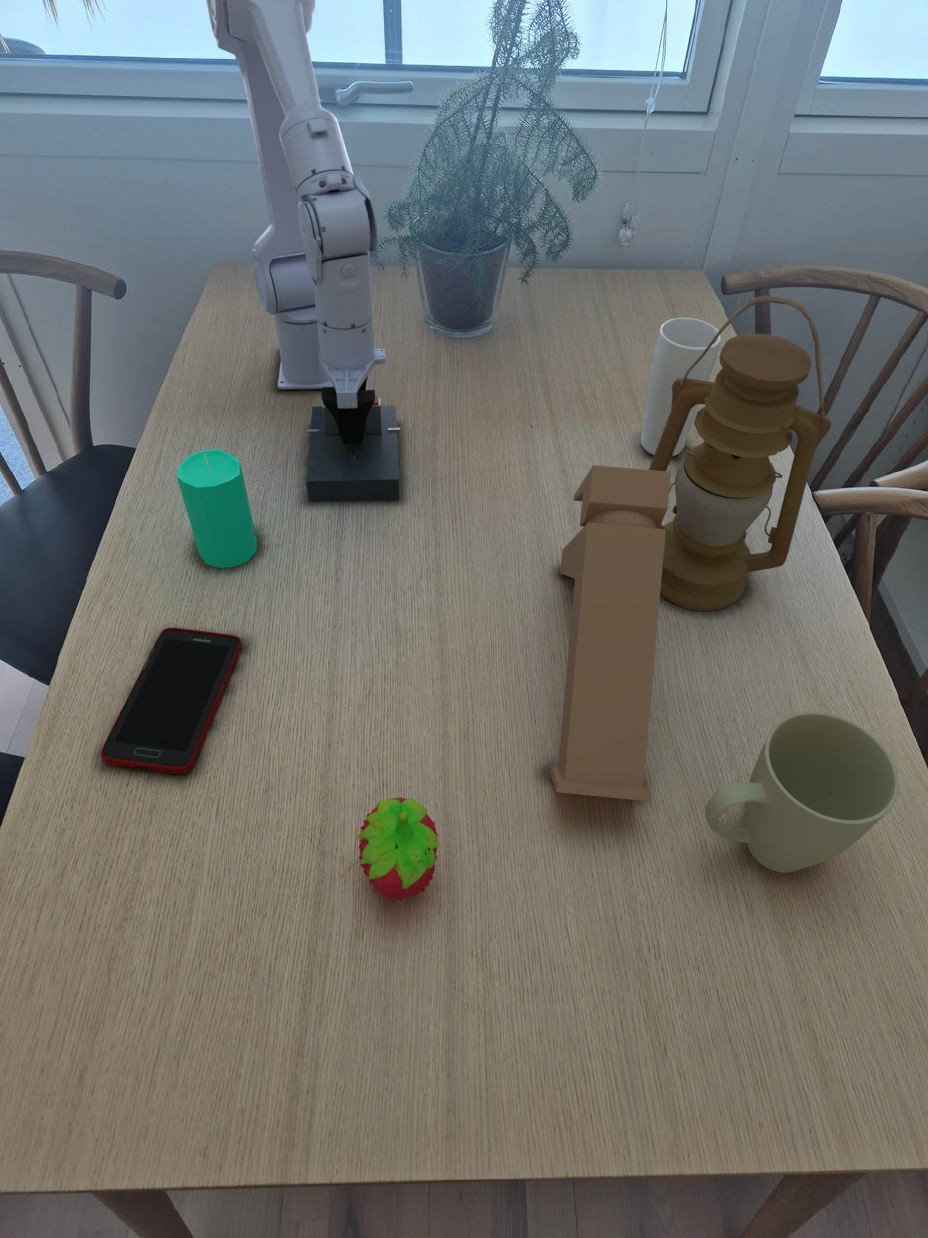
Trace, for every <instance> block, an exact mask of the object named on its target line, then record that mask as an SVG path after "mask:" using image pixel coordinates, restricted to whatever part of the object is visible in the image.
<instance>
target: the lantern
mask: <svg viewBox="0 0 928 1238" xmlns="http://www.w3.org/2000/svg"><path fill="white" fill-rule="evenodd" d="M760 303H770V304H777V305H786V306H790V307H792V308H795V309H797V310H798V311H800V313H801V314H802V315H803V317H805V319H806V320H807V321H808V325H809V328H810V332H811V335H812V340H813V344H814V359H815V366H816V367H815V368H816V376H817V385H818V398H819V399H818V400H819V406H820V411H821V413H818V412H815V411H812V410H809V409H807V408H804V407H801V406H799V405H796V404H797V401H798V397H799V394H800V389H799V385H800V384H802V383H803V382H804V381H805V380H806V379H807V378H808V376H809V374H810V370H811V368H812V359H811V357H810V355H809V354H808V353H807V351H806V350H805V349H803V348H802V347H801V346H800V345H798V344H796V343H794V342H793V341H790V340H789V339H786V338H783V337H779V336H776V335H773V334H772V335H771V334H766V333H765V334H764V333H744V334H740V335H736V336H733V337H731V338H730V339H728V340H726V341H725V343H724V345H723V346H722V347H721V349H720V354H719V356H718V357H719V364H720V366H721V369H720V370H719V371H718V373H717V374H716V375H715V379H714V382H713V381H709V382H708V381H701V380H695V379H688V378H687V376H688V374H689V373H690V371H691V370H692V369H693V368H694V367H695V365H696V364H697V363H698V362H699V361H700V360H701V359H702V358H703V356H704V355H705V354H706V352H707V351H708V350H709V348H710V347H711V346H712V344H713V343H714V342H715V340H716V339H717V338H718V336H719V335H720V334H722V333H723V332H724V331H725V330H726V329H727V327H728V326H729V325H730V324H731V323H732V322H733V321H734V320H735V319H736V318H737V317H739V316H740V315H741V314H742V313H744V312H745V311H747V310H748V309H749V308H751V307H753V306H755V305H758V304H760ZM816 328H817V327H816V325H815V321H814V318H813V316H812V315H811V313H810V312H809V310H808V309H807V306H805V305H803V304H802V303H800V302H798V301H796V300H795V299H788V298H784V297H779V296H774V295H759V296H757V297H754V298H753V299H750V300H748V301H747V302H746V303H744V305H742V306H741V307H740V308H738V309H737V310H736V311H735V312H734V313H732V314H731V316H730V317H729V318H728V319H727V321H726V322H724V324H723V325H722V326H721V327H720V329H719V330H718V331H719V332H718V333H717V334H716V336H715V337H714V338H713V340H712V341H711V343H710V344H709V345H708V347H707V348H706V349H705V351H704V352H703V354H702V355H701V356H700V357H699V358H698V359H697V360H696V361H695V362H694V363H693V365H692V366H691V367H690V368H689V369H688V370H687V372H686V373H685V376H684V377H682V378H678V379H676V380H675V381H674V383H673V385H672V407H671V412H670V415H669V417H668V420H667V423H666V425H665V428H664V431H663V433H662V436H661V439H660V441H659V444H658V447H657V449H656V452H655V454H654V455H653V457H652V460H651V462H650V465H649V468H648V470H655V471H667V470H668V467H669V465H670V462H671V460H672V458H673V456H672V455H673V452H674V450H675V447H676V445H677V442H678V440H679V437H680V435H681V432H682V430H683V427H684V425H685V422H686V420H687V417H688V415H689V412H690V410H691V408H692V407H694V406H695V405H697V404H700V405H704V406H703V407H702V408H700V409H698V410H697V413H696V415H695V418H694V420H693V425H694V427H695V430H696V431H697V434H698V436H699V437H700V438H701V439H702V440H703V441H702V442H701V443H700V444H698V445H696V446H693V447H692V448H689V447H684V448H682V449H681V450H682V451H681V452H683V453H684V454H686V455H685V456H684V458H683V459H682V460H681V462H680V464H679V466H678V467H677V470H676V473H675V478H674V481H673V482H672V483H670V489H669V494H670V493H671V490H672V487H674V491H675V505H674V506H673V507H672V513H673V514H674V517H673V520H672V521H670V522H667V523H666V524H664V525H663V524H661V525H660V527H659V528H658V529H666V534H665V545H664V556H663V567H662V579H661V590H660V598H663V599H665V600H667V601H669V602H671V603H673V604H675V605H676V606H678V607H680V608H684V609H687V610H693V611H699V612H703V611H705V612H706V611H707V612H708V611H709V612H710V611H711V612H712V611H717V610H722V609H724V608H727V607H729V606H731V605H733V604H734V603H735V602H737V601H738V600H739V599H740V598H741V596H742V595H743V593H744V591H745V588H746V586H747V581H748V573H753V572H759V571H764V570H770V569H775V568H779V567H782V566H783V565H784V564H785V563H786V561H787V558H788V555H789V552H790V548H791V545H792V540H793V537H794V533H795V528H796V525H797V521H798V518H799V514H800V509H801V506H802V501H803V498H804V495H805V490H806V486H807V483H808V479H809V475H810V471H811V467H812V464H813V460H814V457H815V453H816V450H817V449H818V447H819V445H820V443H821V442H822V441H823V439H824V438H825V437H826V435H827V434H828V433H829V432H830V430H831V427H832V420H831V419H830V418H828V417H827V416H826V411H825V407H824V406H825V405H824V379H823V367H822V365H823V364H822V356H821V348H820V340H819V335H818V331H817V329H816ZM793 432H794V433H795V434H796V437H797V444H796V448H795V452H794V455H793V460H792V464H791V467H790V471H789V476H788V479H787V483H786V488H785V492H784V495H783V499H782V504H781V508H780V511H779V515H778V519H777V524H776V527H775V526H771V527H770V530H769V532H768V530H767V529H768V528H767V526H768V524H769V522H770V518H771V517H772V516H771V515H772V511H771V508H770V507H769V506H768V505H769V502H770V500H771V498H772V495H773V489H774V484H775V483H776V481H777V479H782V478H783V477H784V476H783V474H781V473H780V472H777V471H776V469H775V467H774V465H773V463H772V462H771V460H770V456H774V455H777V454H778V453H782V452H783V451H785V450H787V448H789V446H790V445H791V444H792V443H793ZM765 509H767V510H768V516H767V519H766V522H765V524H764V527H763V528H764V530H763V531H764V534H766V535H767V537H768V539H767V543H768V544H771V547H770V549H769V550H768V551H765V552H759V553H751V550H750V548H749V547H748V545H747V543H746V542H745V541H746V539H747V535H748V534H747V530H748V529H749V528H750V527H751V526H752V524H753V523H754V522H755V521H756V520H757V519H758V518H759V516H760V515H761V514H762V513H763V511H764V510H765Z"/></svg>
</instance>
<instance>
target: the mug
mask: <svg viewBox="0 0 928 1238" xmlns="http://www.w3.org/2000/svg"><path fill="white" fill-rule="evenodd" d="M899 792H900V778H899V772H898V769H897V766H896V763H895V761H894V759H893V757H892V756H891V754H890V753H889V751H888V750H887V749H886V747H885V746H884V745H883V744H882V743H881V742H880V740H878V738H877V737H876V736H874V735H873V734H872V732H870V731H869V730H867V729H865V728H864V727H862V726H861V725H860V724H858V723H856V722H854V721H852V720H850V719H848V718H846V717H843V716H842V715H841V716H840V715H837V714H833V713H831V712H825V711H814V710H808V711H800V712H795V713H791V714H789V715H787V716H785V717H783V718H781V719H780V720H778V721H777V722H776V723H775V724H774V725H773V726H772V727H771V729H770V730H769V732H768V734H767V736H766V738H765V741H764V743H763V746H762V748H761V750H760V753H759V755H758V758H757V760H756V763H755V765H754V767H753V770H752V772H751V774H750V778H749V781H746V782H745V781H743V782H741V781H740V782H735V783H730V784H727V785H725V786H723V787H721V788H719V789H717V791H715V793H713V794H712V795H711V797H710V798H709V800H708V802H707V804H706V806H705V811H704V814H705V818H706V822H707V823H708V826H709V827H710V829H711V830H712V831H713V832H714V833H715V834H717V835H718V836H720V837H722V838H725V839H728V840H730V841H734V842H738V843H742V844H746V846H747V849H748V850H749V852H750V854H751V856H752V857H753V859H755V860H756V861H757V862H758V863H759V864H760V865H761V866H763V867H765V868H766V869H768V870H769V871H773V872H776V873H781V874H789V873H793V872H797V871H799V870H803V869H807V868H809V867H812V866H815V865H819V864H822V863H825V862H827V861H829V860H832V859H834V858H835V857H838V856H840V855H841V854H842V853H844V852H846V851H847V850H848V849H850V847H852V846H853V845H854V844H855V843H857V842H858V841H859V840H860V839H861V838H862V837H863V836H864V835H865V834H866V833H868V832H869V831H870V830H871V829H872V828H873V827H874V826H875V825H876V824H877V823H878V822H879V821H880V820H882V819H883V818H884V817H885V816H886V815H887V814H888V813H889V812H890V811H891V810H892V808H893V807H894V805H895V804H896V803H897V799H898V796H899ZM742 803H744V826H743V827H739V826H734V825H732V824H730V823H727V822H724V821H721V820H719V819H720V817H721V816H722V815H723V814H724V813H725V812H727V811H728V810H729V809H731V808H732V807H735V806H737V805H739V804H742Z"/></svg>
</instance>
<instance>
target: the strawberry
mask: <svg viewBox="0 0 928 1238" xmlns="http://www.w3.org/2000/svg"><path fill="white" fill-rule="evenodd" d="M427 812H428V810H427V808H426V807H425V806H424V805H423V804H421V803H420V802H418V801H416V800H415V799H413V798H406V797H401V796H399V797H391V798H386V799H383V800H380V801H378V802H376V806H375V807H374V808H373V809H371V812H369V813H368V814H366V817H365V819H364V820H362V822H363V825H362V826H360V829H361V833H360V834H359V835H358V838H359V839H360V842H359V845H358V849H359V856H358V859H359V864H360V867H362V868H363V874H364V875H366V876H367V880H368V883H369V885H371V886H373V887H374V891H375V892H377V893H378V894H381V896H382V897H384V898H387V899H389V900H390V901H391V900H393V901H396V900H400V901H401V902H402V901H403V900H405V899H406V900H407V899H409V898H410V897H411V898H413V897H416V896H418V895H420V893H421V892H424V891H425V888H426V886H427V887H428V886H430V882H431V881H432V880H433V875H434V873H435V871H436V868H435V867H436V861H437V860H438V856H437V851H438V847H439V845H440V842H439V839H438V837H439V836H438V835H439V834H438V832H437V827H436V822H435V821H434V820H432V818H431V817H430V816H429V814H428V813H427Z"/></svg>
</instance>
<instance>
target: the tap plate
mask: <svg viewBox="0 0 928 1238" xmlns="http://www.w3.org/2000/svg"><path fill="white" fill-rule="evenodd" d="M381 421H382V433H381V434H364V438H363V442H362V444H357V445H345V444H344V443H343V441H342V439H341V436H340V434H330V435H326V434H325V429H324V420H323V411H322V405H321V406H312V407H311V415H310V428H307V429H306V433H309V439H308V440H309V442H308V451H307V452H308V454H307V467H306V477H305V483H306V489H307V497H308V502H309V503H327V502H328V503H329V502H330V503H331V502H332V503H337V502H338V503H339V502H372V501H373V502H377V501H378V502H379V501H400V475H399V474H400V473H399V447H398V432H400V431H401V427H398V423H397V422H398V421H397V405H396V404H395V405H394V404H391V405H389V404H388V405H381Z"/></svg>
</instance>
